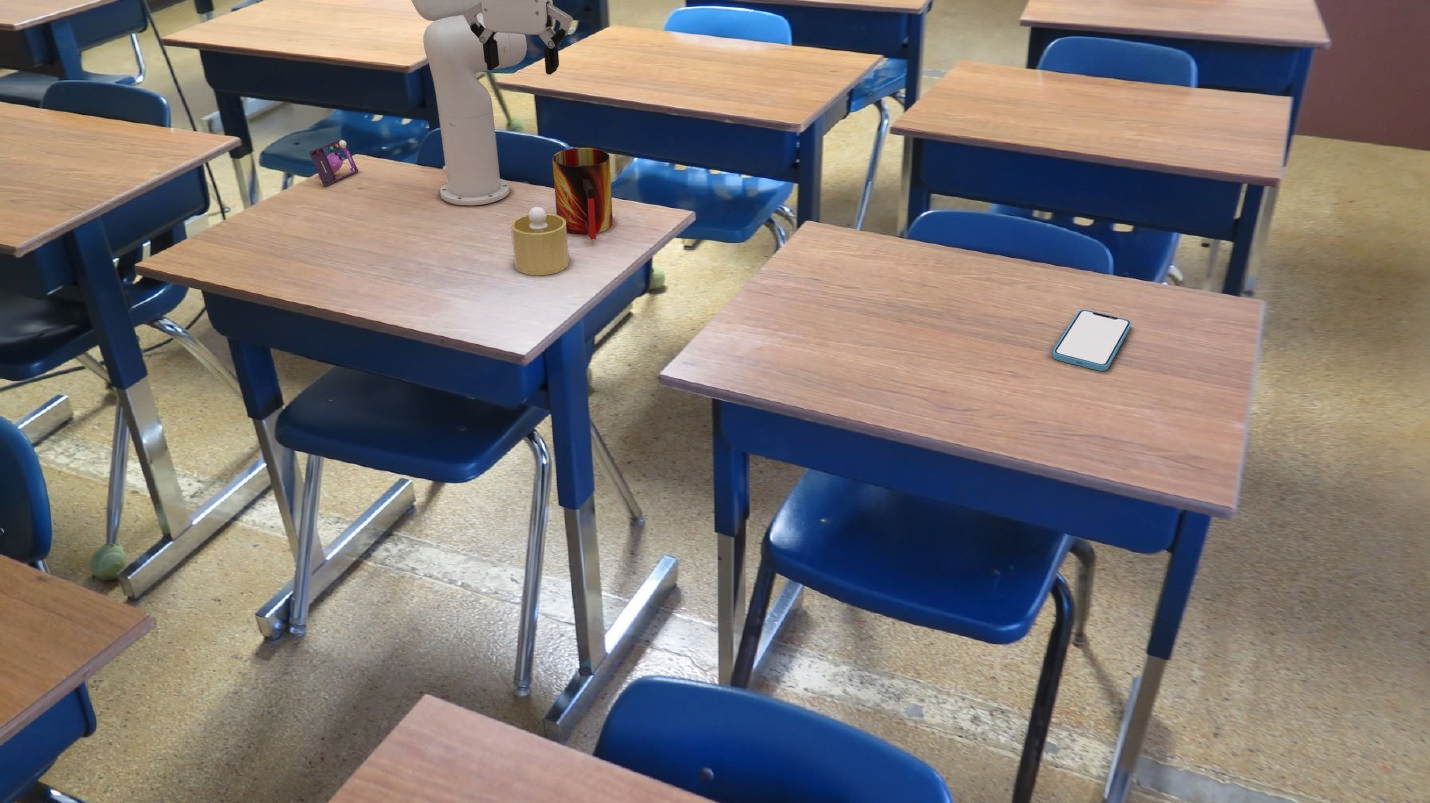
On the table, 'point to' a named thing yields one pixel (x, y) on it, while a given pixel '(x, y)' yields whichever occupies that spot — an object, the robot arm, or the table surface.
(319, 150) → the game card
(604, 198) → the mug
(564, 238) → the yellow cup
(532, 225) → the chess pawn
